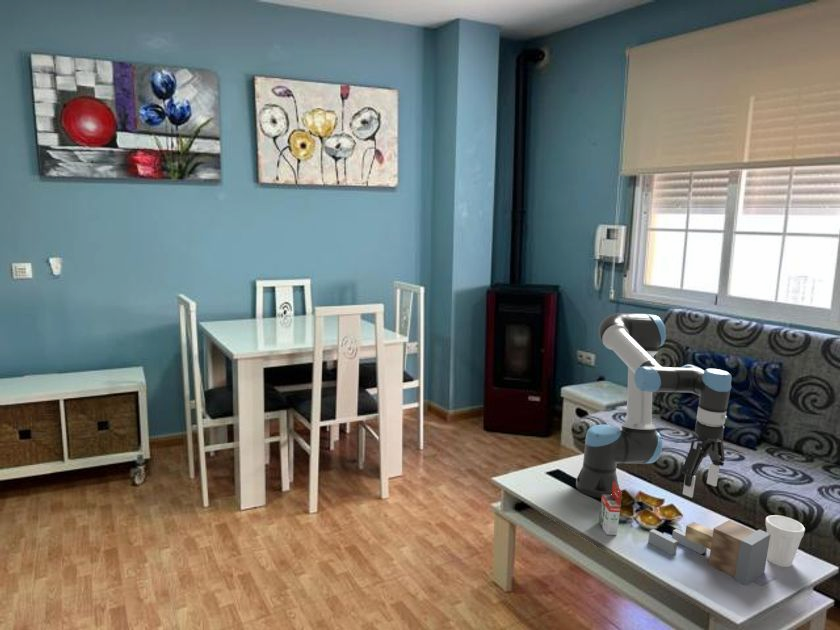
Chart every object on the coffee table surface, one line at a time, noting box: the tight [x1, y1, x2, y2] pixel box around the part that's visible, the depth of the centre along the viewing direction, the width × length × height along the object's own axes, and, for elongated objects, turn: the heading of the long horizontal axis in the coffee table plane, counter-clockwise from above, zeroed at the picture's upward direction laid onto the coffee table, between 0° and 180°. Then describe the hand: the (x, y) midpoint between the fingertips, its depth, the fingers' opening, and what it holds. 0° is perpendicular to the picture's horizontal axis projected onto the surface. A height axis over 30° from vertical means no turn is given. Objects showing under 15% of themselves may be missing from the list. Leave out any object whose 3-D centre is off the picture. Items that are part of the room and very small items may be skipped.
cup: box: [765, 514, 806, 568], centre depth 178 cm, size 10×10×13 cm
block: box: [707, 519, 757, 579], centre depth 174 cm, size 8×9×11 cm
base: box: [671, 528, 771, 586], centre depth 178 cm, size 26×11×13 cm, turn 37°
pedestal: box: [647, 528, 679, 556], centre depth 183 cm, size 8×2×5 cm, turn 37°
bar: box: [684, 521, 714, 550], centre depth 179 cm, size 14×4×4 cm, turn 38°
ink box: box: [598, 481, 623, 536], centre depth 193 cm, size 4×8×15 cm, turn 2°
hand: (699, 490), depth 182 cm, fingers open, 13 cm apart
